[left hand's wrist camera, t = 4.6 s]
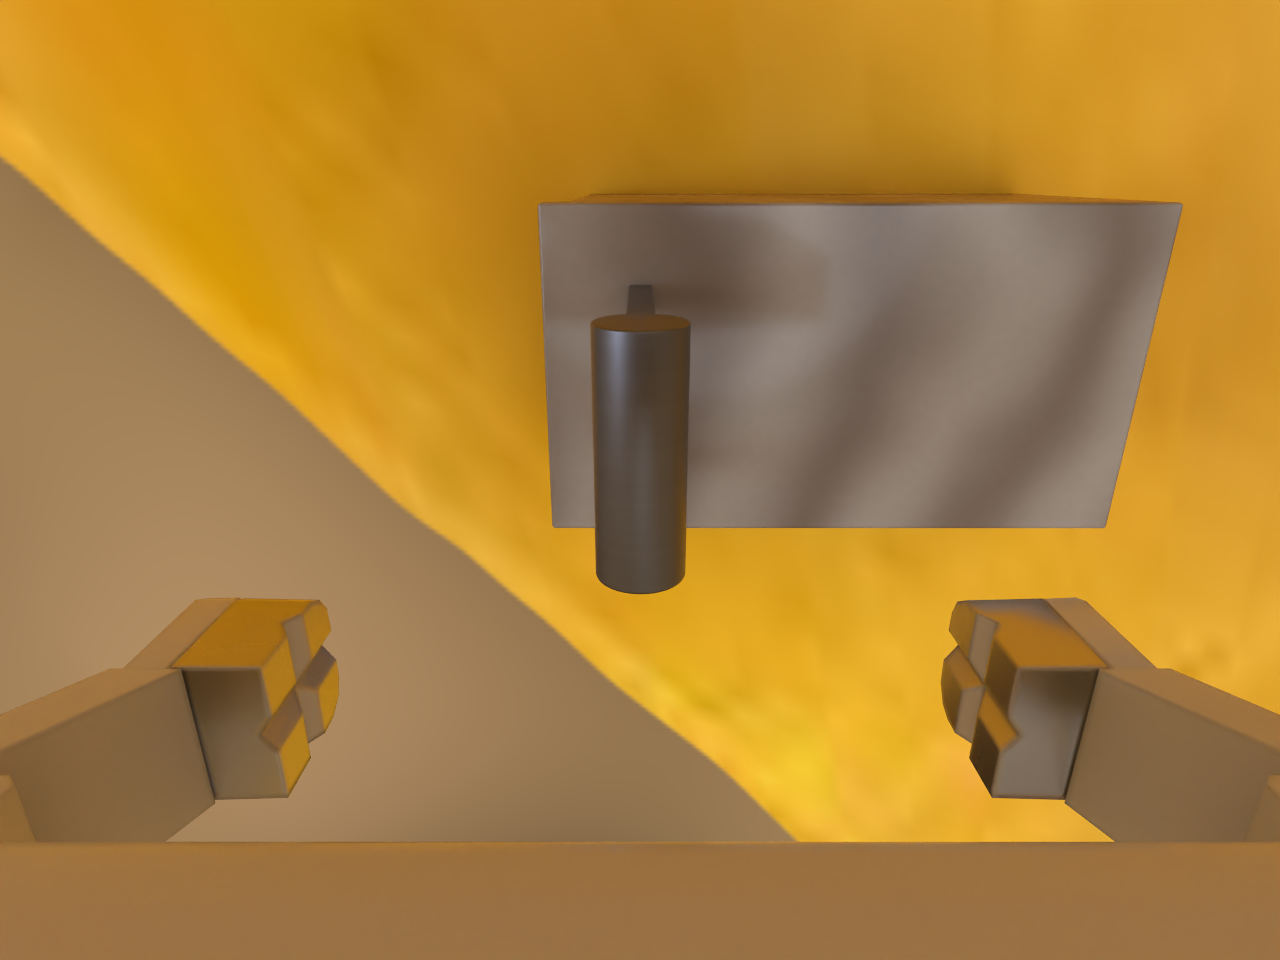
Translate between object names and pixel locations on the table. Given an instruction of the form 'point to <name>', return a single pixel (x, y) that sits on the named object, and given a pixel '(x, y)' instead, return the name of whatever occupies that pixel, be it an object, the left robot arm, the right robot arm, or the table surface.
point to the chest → (837, 198)
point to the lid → (839, 366)
